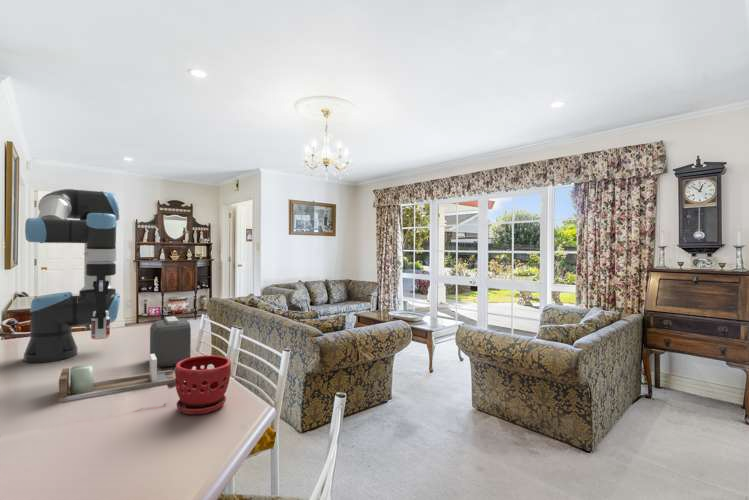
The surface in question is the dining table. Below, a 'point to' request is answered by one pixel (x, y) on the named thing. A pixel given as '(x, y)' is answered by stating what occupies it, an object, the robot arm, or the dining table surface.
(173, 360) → the alarm clock
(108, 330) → the pill bottle
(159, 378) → the paddle
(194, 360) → the plant pot
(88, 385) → the pale green rounded block
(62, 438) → the dining table surface
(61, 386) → the tray
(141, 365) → the dining table surface
